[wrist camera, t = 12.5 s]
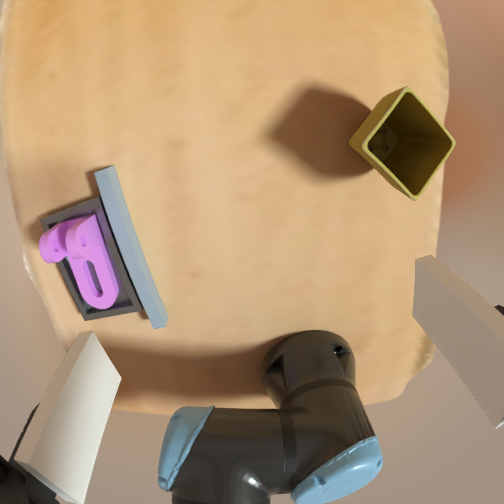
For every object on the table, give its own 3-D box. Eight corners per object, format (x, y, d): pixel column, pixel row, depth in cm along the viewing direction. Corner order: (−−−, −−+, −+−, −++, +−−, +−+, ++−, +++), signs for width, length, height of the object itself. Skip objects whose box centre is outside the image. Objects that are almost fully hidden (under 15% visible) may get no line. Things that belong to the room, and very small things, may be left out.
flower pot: (371, 90, 32) (408, 83, 23) (416, 137, 34) (457, 143, 26) (330, 141, 34) (359, 146, 26) (379, 186, 37) (415, 203, 28)
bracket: (62, 220, 35) (35, 239, 28) (96, 212, 35) (72, 230, 28) (91, 305, 40) (72, 333, 33) (123, 302, 40) (108, 331, 33)
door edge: (168, 317, 42) (165, 326, 40) (157, 319, 42) (153, 328, 40) (114, 165, 34) (106, 168, 31) (101, 169, 34) (94, 173, 31)
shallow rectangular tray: (145, 302, 41) (142, 310, 39) (89, 313, 41) (85, 320, 39) (104, 193, 35) (98, 197, 33) (47, 215, 35) (40, 219, 33)
